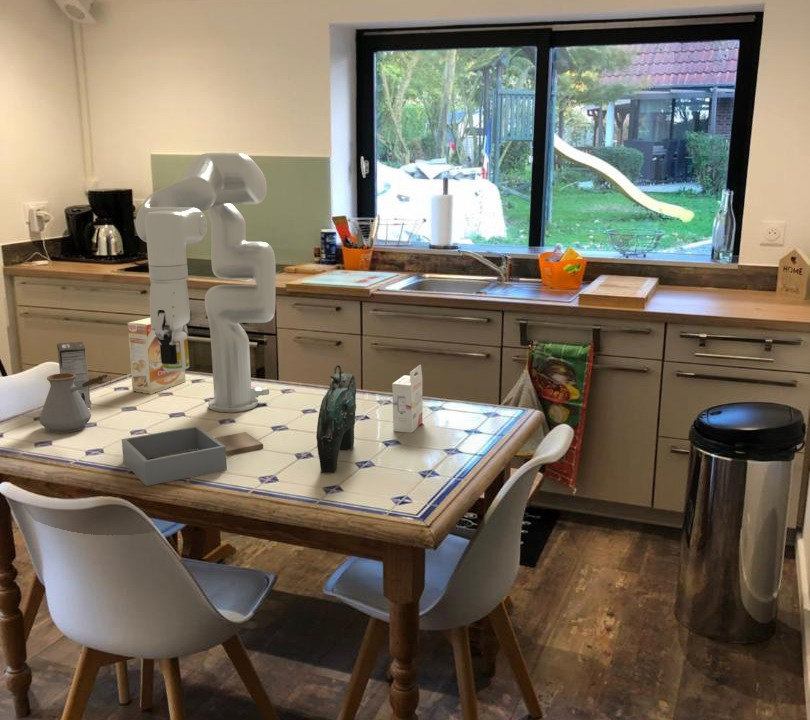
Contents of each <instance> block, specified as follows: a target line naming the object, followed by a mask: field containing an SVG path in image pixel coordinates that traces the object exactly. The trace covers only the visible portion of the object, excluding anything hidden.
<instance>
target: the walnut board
mask: <svg viewBox="0 0 810 720" xmlns="http://www.w3.org/2000/svg"><path fill="white" fill-rule="evenodd" d="M214 438H215V439H216V440H218V441H219V442H220V443H222V444H223V445H224V446H226V456H229V455H236V454H240V453H244V452H245V453H246V452H250V451H255V450H260V449H264V443H263V442H261V441H259V440H258V439H257V438H255V437H254V436H252V435H251V434H249V433H247V432H246V431H243V432H238V433H233V434H228V435H227V434H226V435H222V436H221V435H220V436H217V437H216V436H215V437H214Z"/></svg>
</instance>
